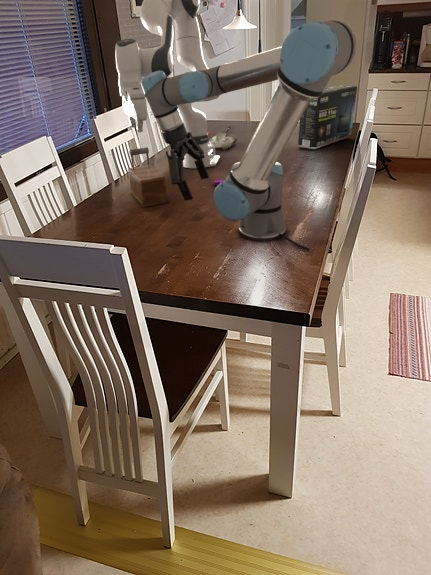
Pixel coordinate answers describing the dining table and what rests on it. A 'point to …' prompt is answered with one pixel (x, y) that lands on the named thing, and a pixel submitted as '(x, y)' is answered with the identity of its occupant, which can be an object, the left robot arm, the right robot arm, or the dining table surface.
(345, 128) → the router box
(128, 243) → the dining table surface
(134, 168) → the lid
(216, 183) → the purple curved bar
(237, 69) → the right robot arm
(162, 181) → the chest
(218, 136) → the fossil
